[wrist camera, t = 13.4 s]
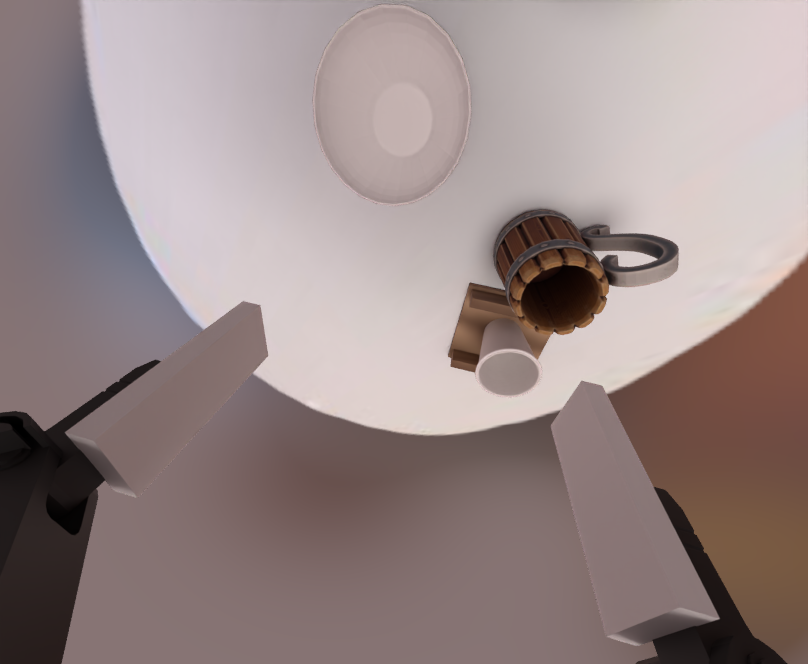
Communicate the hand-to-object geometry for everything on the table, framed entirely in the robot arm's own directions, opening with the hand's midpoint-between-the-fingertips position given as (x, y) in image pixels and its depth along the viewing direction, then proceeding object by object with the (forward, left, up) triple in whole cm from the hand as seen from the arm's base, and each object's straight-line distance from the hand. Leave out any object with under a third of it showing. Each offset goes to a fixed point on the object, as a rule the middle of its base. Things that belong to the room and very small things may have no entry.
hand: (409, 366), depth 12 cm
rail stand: (+17, +12, -33) cm, 39 cm away
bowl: (-8, -8, -33) cm, 35 cm away
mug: (+2, +14, -33) cm, 36 cm away
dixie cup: (+17, +12, -32) cm, 38 cm away
